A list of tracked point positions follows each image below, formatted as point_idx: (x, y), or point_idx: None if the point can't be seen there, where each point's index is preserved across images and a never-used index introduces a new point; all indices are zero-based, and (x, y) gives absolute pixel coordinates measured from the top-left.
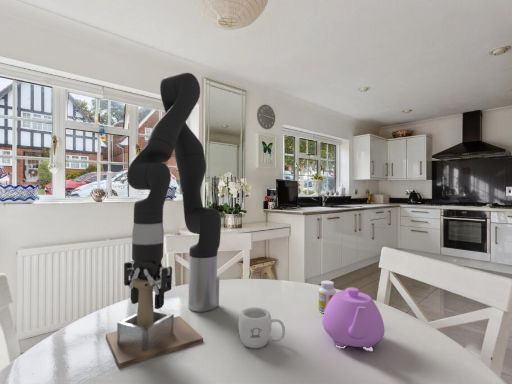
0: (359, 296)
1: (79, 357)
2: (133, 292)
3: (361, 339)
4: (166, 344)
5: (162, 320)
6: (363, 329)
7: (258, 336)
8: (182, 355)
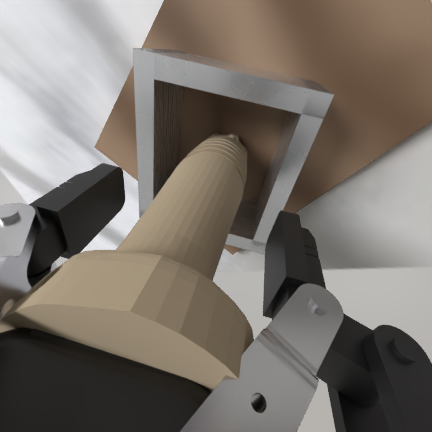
0: None
1: (133, 226)
2: (83, 248)
3: None
4: (315, 171)
5: (294, 180)
6: None
7: None
8: (377, 189)
